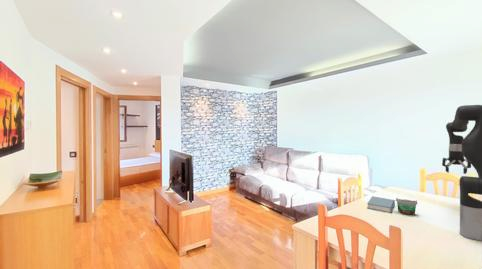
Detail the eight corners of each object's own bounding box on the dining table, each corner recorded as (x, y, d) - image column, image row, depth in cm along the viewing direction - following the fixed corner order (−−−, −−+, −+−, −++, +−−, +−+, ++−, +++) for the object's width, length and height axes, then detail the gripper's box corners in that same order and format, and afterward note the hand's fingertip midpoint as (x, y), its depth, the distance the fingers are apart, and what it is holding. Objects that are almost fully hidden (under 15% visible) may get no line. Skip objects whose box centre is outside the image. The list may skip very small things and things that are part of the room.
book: (391, 213, 150) (391, 207, 150) (367, 208, 160) (367, 203, 160) (394, 205, 165) (394, 200, 165) (372, 201, 175) (372, 196, 175)
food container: (397, 214, 148) (397, 200, 148) (395, 211, 154) (395, 197, 153) (419, 217, 142) (419, 202, 142) (417, 214, 148) (417, 200, 147)
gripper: (443, 150, 150) (443, 172, 151) (472, 151, 142) (472, 175, 143) (441, 149, 157) (441, 171, 157) (468, 150, 149) (468, 173, 149)
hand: (456, 173), depth 150 cm, fingers open, 8 cm apart
